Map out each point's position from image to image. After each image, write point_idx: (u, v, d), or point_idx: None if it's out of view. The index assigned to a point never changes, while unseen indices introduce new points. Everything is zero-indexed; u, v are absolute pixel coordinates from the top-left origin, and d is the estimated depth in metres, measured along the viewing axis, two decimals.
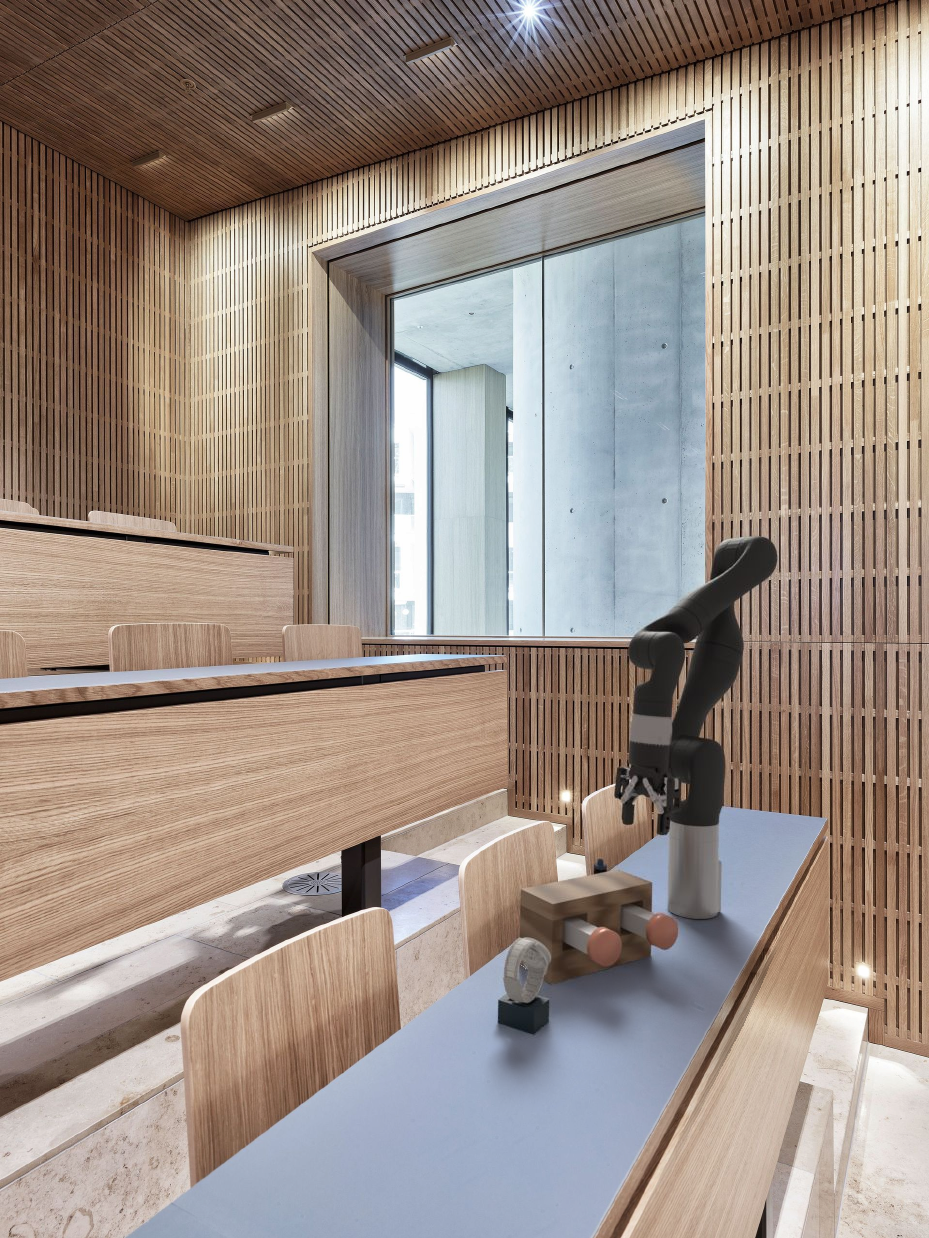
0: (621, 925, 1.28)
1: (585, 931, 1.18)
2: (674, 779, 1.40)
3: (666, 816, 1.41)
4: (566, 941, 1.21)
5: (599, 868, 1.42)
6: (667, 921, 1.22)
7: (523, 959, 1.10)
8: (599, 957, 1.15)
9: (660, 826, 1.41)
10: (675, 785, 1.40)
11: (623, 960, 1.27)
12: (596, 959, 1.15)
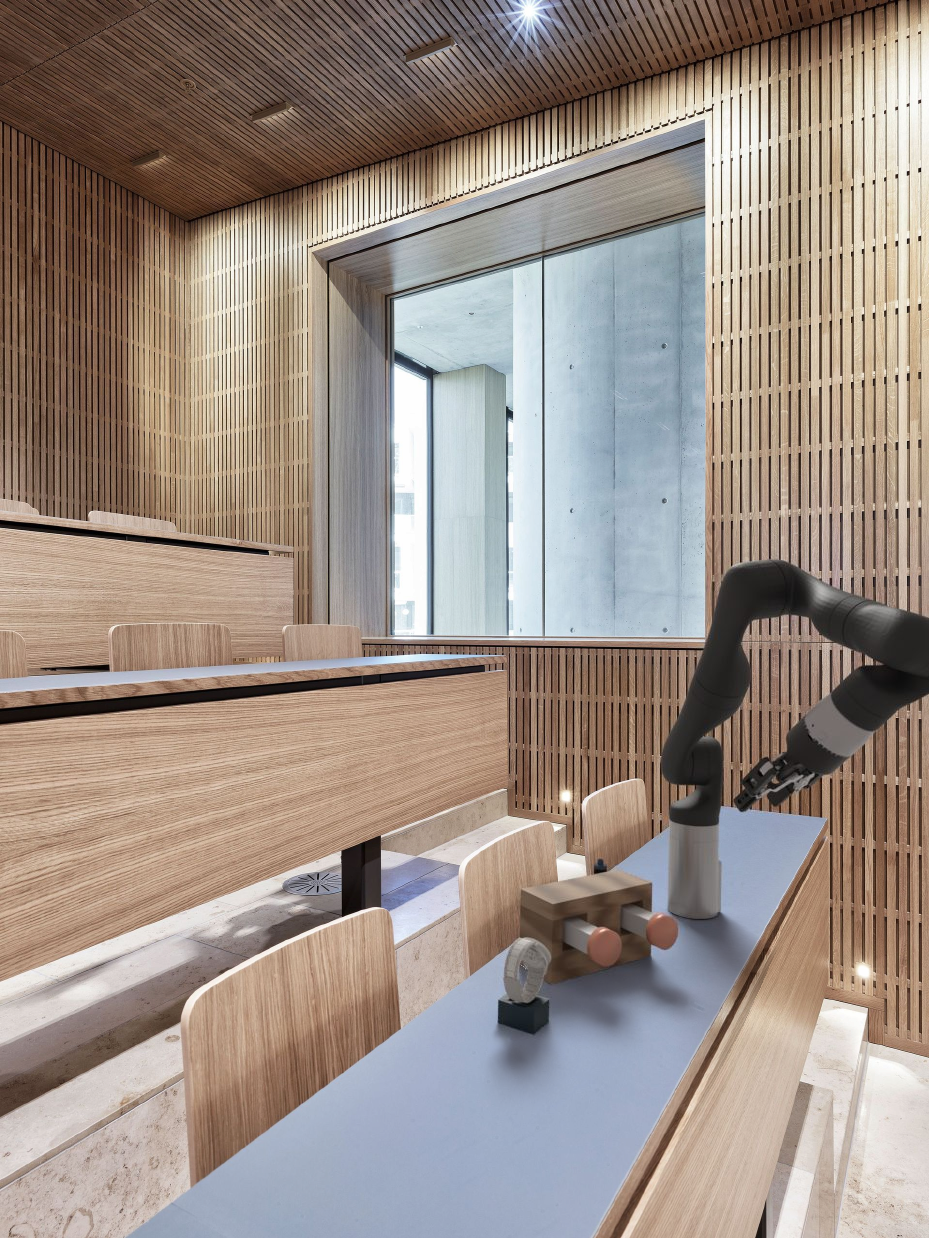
0: (621, 925, 1.28)
1: (585, 931, 1.18)
2: None
3: None
4: (566, 941, 1.21)
5: (599, 868, 1.42)
6: (667, 921, 1.22)
7: (523, 959, 1.10)
8: (599, 957, 1.15)
9: None
10: None
11: (623, 960, 1.27)
12: (596, 959, 1.15)
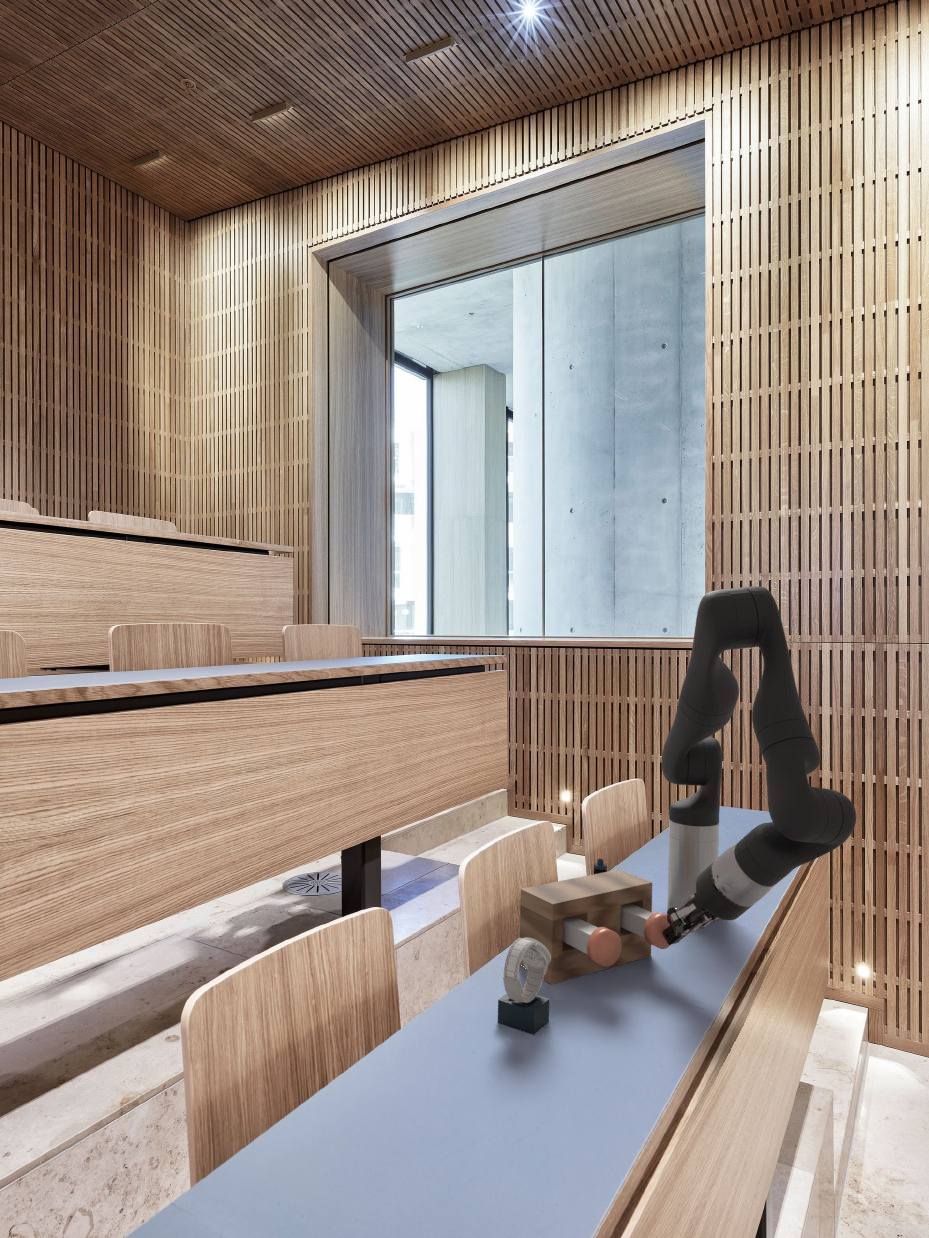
0: None
1: (585, 931, 1.18)
2: None
3: None
4: (566, 941, 1.21)
5: (599, 868, 1.42)
6: (665, 921, 1.22)
7: (523, 959, 1.10)
8: (599, 957, 1.15)
9: None
10: None
11: (623, 960, 1.27)
12: (596, 959, 1.15)
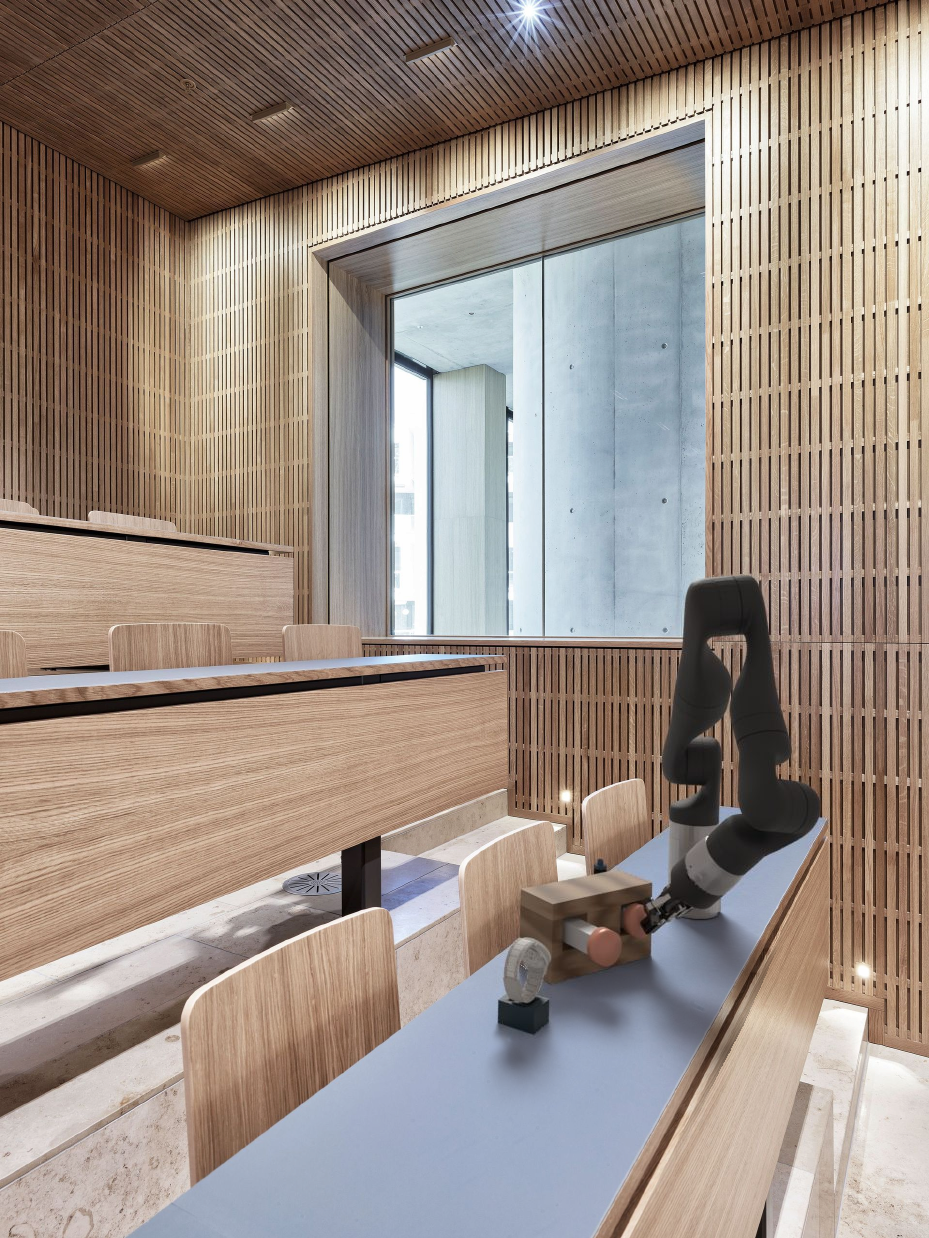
0: None
1: (585, 931, 1.18)
2: None
3: None
4: (566, 941, 1.21)
5: (599, 868, 1.42)
6: (643, 911, 1.26)
7: (523, 959, 1.10)
8: (599, 957, 1.15)
9: None
10: None
11: (623, 960, 1.27)
12: (596, 959, 1.15)
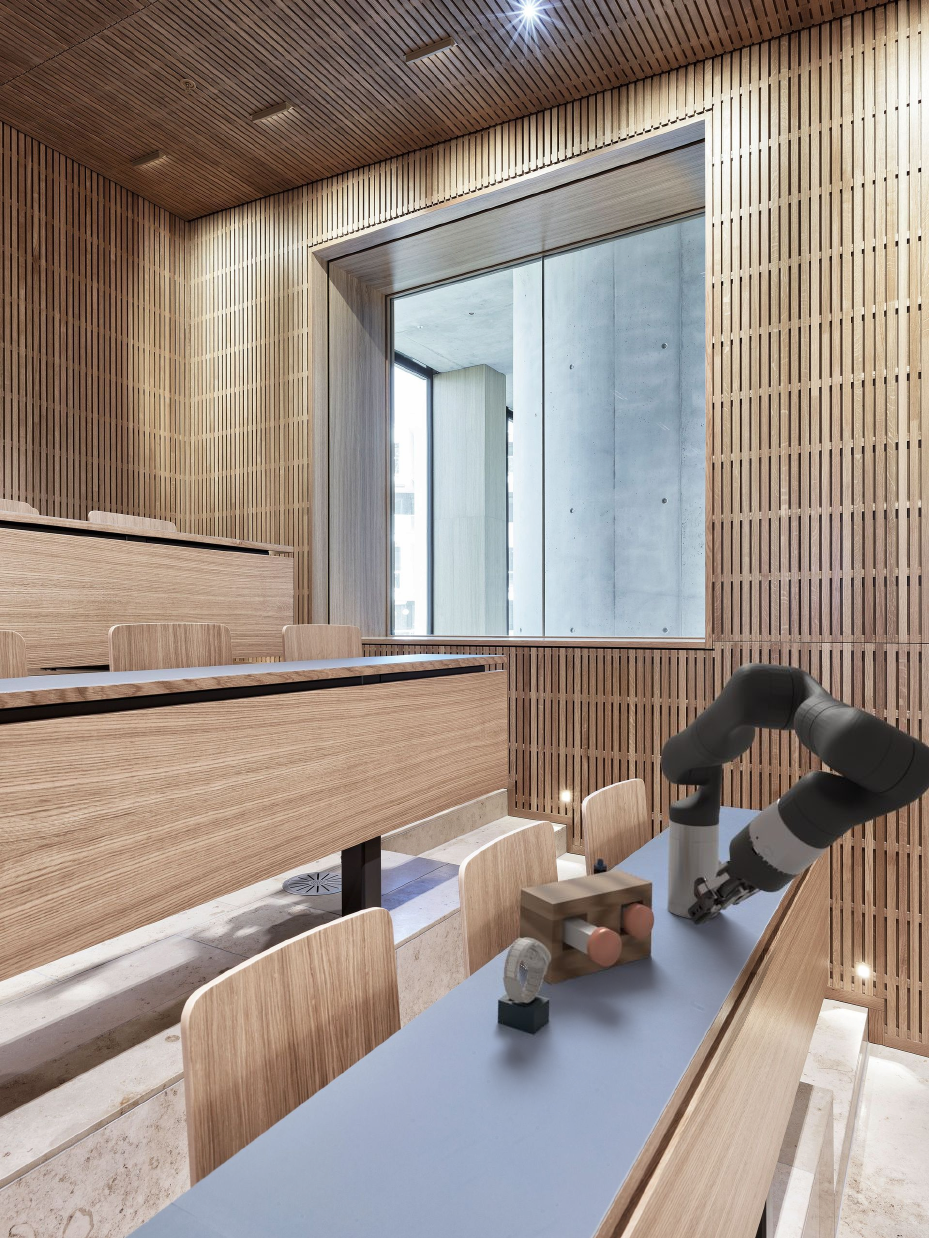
0: None
1: (585, 931, 1.18)
2: None
3: None
4: (566, 941, 1.21)
5: (599, 868, 1.42)
6: (643, 911, 1.26)
7: (523, 959, 1.10)
8: (599, 957, 1.15)
9: None
10: None
11: (623, 960, 1.27)
12: (596, 959, 1.15)
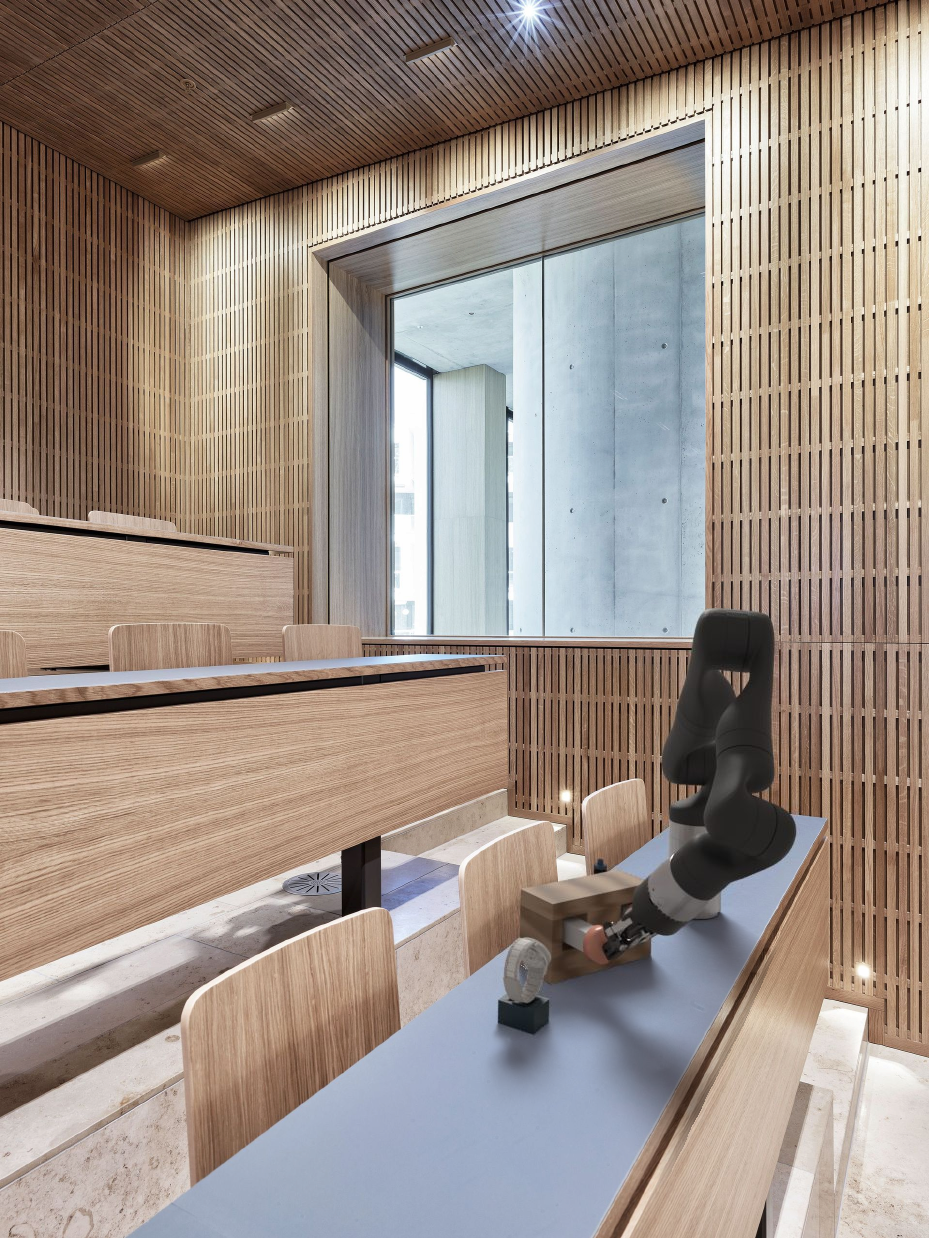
0: None
1: (581, 929, 1.19)
2: None
3: None
4: (562, 939, 1.22)
5: (599, 868, 1.42)
6: None
7: (523, 959, 1.10)
8: (595, 955, 1.15)
9: None
10: None
11: (623, 960, 1.27)
12: (592, 957, 1.15)
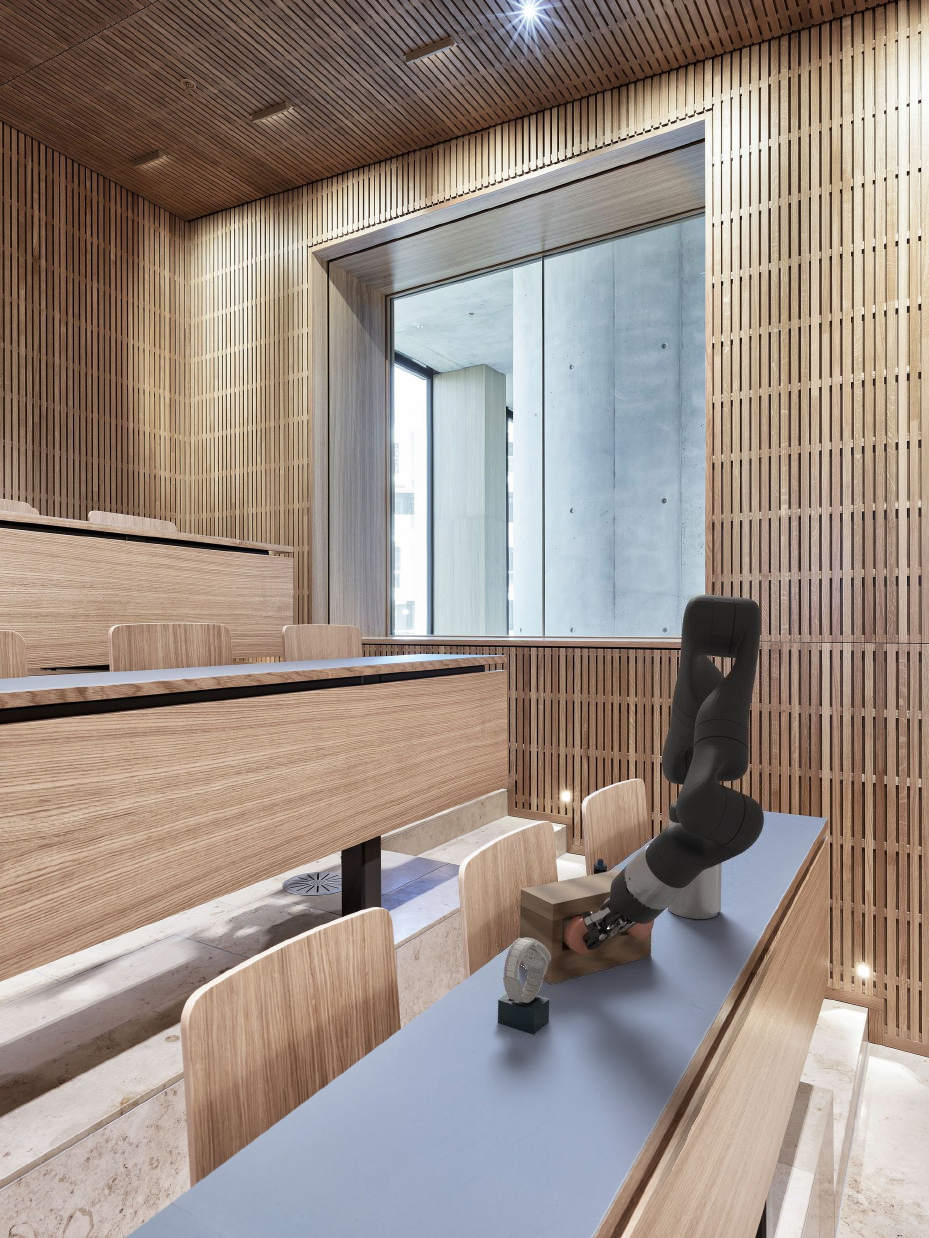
0: None
1: (563, 920, 1.22)
2: None
3: None
4: None
5: (599, 868, 1.42)
6: None
7: (523, 959, 1.10)
8: (576, 945, 1.19)
9: None
10: None
11: (623, 960, 1.27)
12: (573, 947, 1.19)
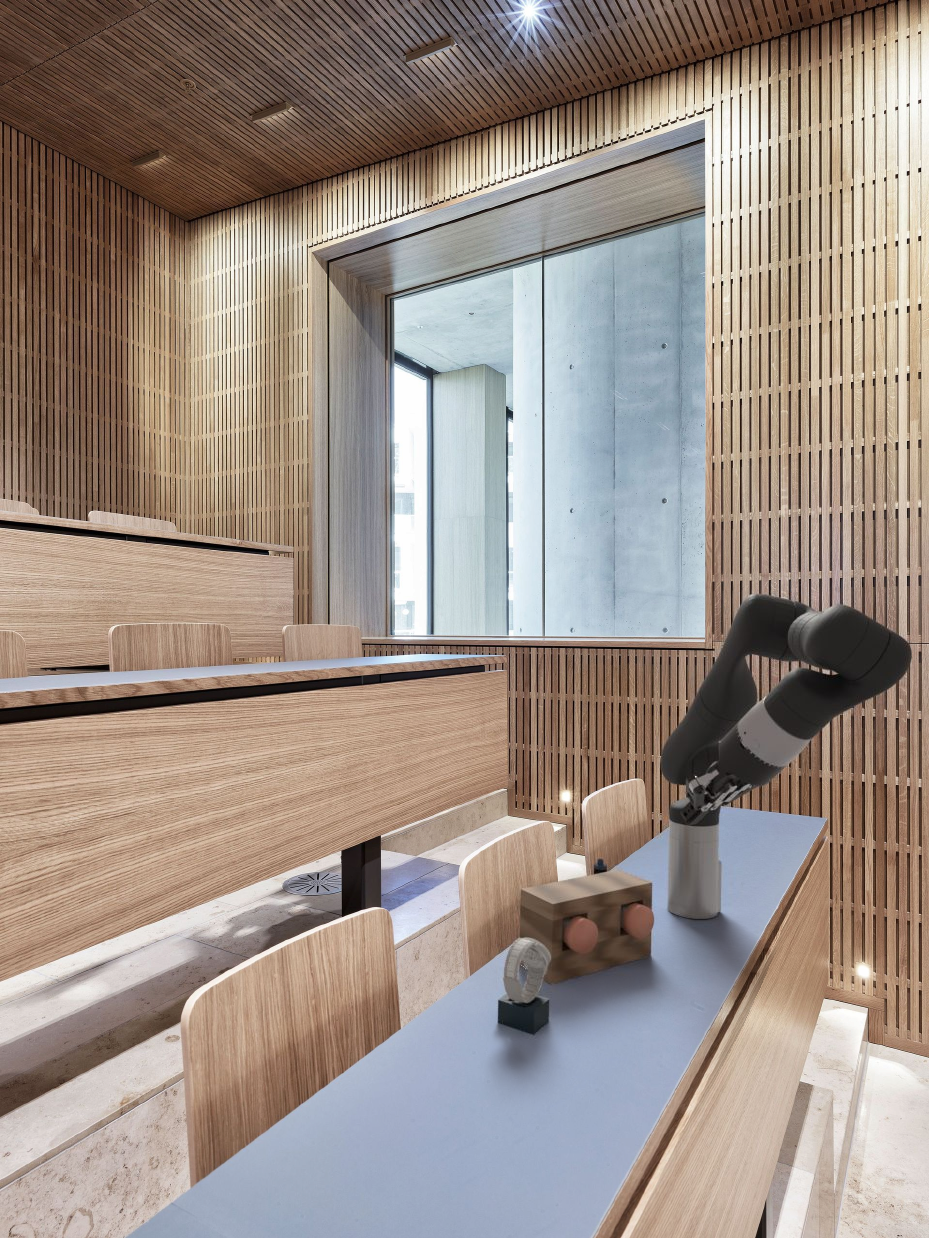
0: None
1: (563, 920, 1.22)
2: None
3: None
4: None
5: (599, 868, 1.42)
6: (643, 911, 1.26)
7: (523, 959, 1.10)
8: (576, 945, 1.19)
9: None
10: None
11: (623, 960, 1.27)
12: (573, 947, 1.19)
